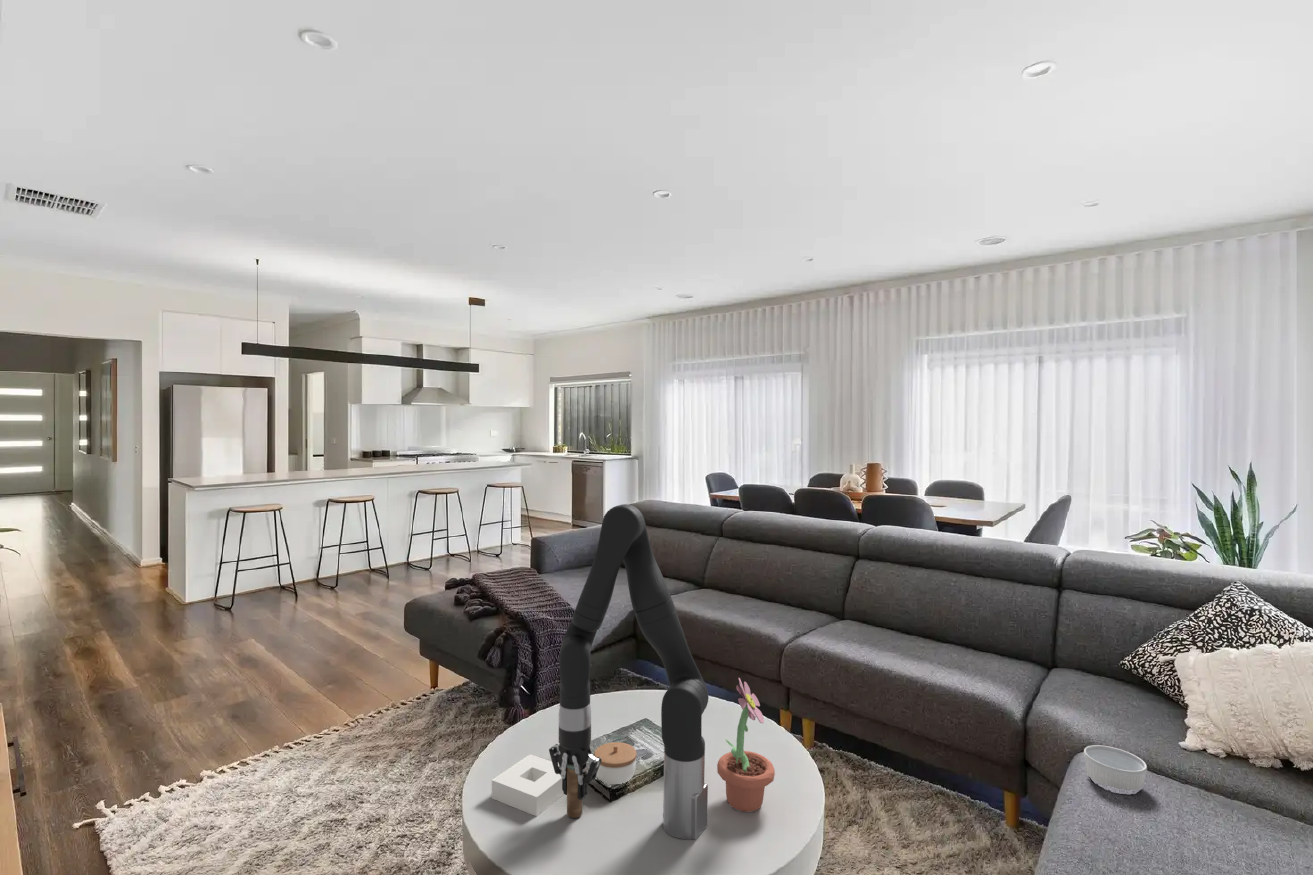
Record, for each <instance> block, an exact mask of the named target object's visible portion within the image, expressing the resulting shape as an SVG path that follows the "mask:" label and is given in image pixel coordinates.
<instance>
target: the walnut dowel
mask: <svg viewBox="0 0 1313 875" xmlns="http://www.w3.org/2000/svg"><path fill="white" fill-rule="evenodd" d="M582 767H583V766H582ZM582 767H581V768H582ZM581 768H580V769H581ZM578 784H579V782H578V776H577V775H576V773H575V767H574V765H573V764H570V763H567V795H566V815H567V816H568V818H572V819H575V818H579V817H581V816H582V815H583V799H582V800H579V799H578Z"/></svg>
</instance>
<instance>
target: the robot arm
mask: <svg viewBox="0 0 1313 875" xmlns="http://www.w3.org/2000/svg"><path fill="white" fill-rule="evenodd" d="M622 563H623V564H624V567H625V572H626V577H627V585H628V593H629V597H630V603H631V607H632V609H633V612H634V616H635V618H636V621H637V624H638V627H639V629H640V631H641V633H642V635H643V636H644V638H645V640H646V641H647V642H648V644H649V645H651V647H652V649H654V651H655V652H656V654H657V655H658V656H659V658H660V661H661V662H662V665H663V667H664V671H665V672H666V673H665V674H666V676H667V679H668V680H667V681H668V684H669V687H668V688H667V690H666V692H665V693H664V694H663V697H662V701H661V706H660V707H661V708H660V710H661V711H660V715H661V717H660V718H661V719H660V721H661V725H660V726H661V740H662V743H663V803H662V805H663V807H662V808H663V812H662V813H663V814H662V820H663V822H662V824H663V827H662V828H663V830H664V831H665V832H666V833H667V834H668V835H669V836H672V837H674V838H677V839H684V840H685V839H692V840H697V839H698V838H699V836H700V835H701V833H703V831H704V830H706V828H707V826H708V800H709V799H708V798H709V797H708V794H709V792H708V791H709V790H708V789H709V785H708V784H707V783H705V764H706V763H705V762H706V761H705V759H706V758H705V755H706V754H705V753H706V742H705V738H704V737H703V735H702V723H703V722H702V720H703V719H702V716H703V713H704V712H705V710H706V709H707V706H708V704H709V691H708V687H707V685H706V683H705V680H704V678H703V677H702V674H701V672H700V670H699V667H697V666H698V665H697V664H696V662H695V660H694V658H693V656H692V653H691V650H690V647H689V646H688V641H687V639H686V635H685V633H684V630H683V627H682V625H681V621H680V619H679V618H680V617H679V614H678V612H677V609H676V607H675V603H674V601H673V598H672V595H671V593H670V591H669V588H668V586H667V583H666V581H665V578H664V576H663V574H662V571H661V569H660V567H659V565H658V563H657V560H656V557H655V555H654V552H653V549H652V545H651V542H650V538H649V534H648V530H647V525H646V521H645V518H644V515H643V513H642V512H641V511H640V510H639V509H638V508H637V506H634V505H631V504H629V503H625V504H623V503H622V504H619V505H616V506H615V505H614V506H613V507H611V508H609V510H608V511H607V512H606V513H605V515H604V516H603V518H602V522H601V529H600V534H599V538H598V542H597V548H596V552H595V555H594V558H593V562H592V565H591V566H590V567H591V568H590V571H589V573H588V574H587V578H586V580H585V583H584V586H583V588H582V590H581V593H580V596H579V598H578V601H577V604H576V607H575V609H574V612H573V615H572V616H573V617H572V619H571V620H570V623H569V625H568V627H567V630H566V631H565V633H564V636H563V639H562V641H561V644H560V650H559V659H558V660H559V661H558V662H559V666H558V667H559V677H560V686H559V709H558V743H556V744H554V745H553V746H551V747H550V748H549V749H548V751H549V752H548V753H549V755H550V761H551V762H552V764H553V767H554V771H555V773H556V774H560V775H561V778H562V790H563V791H564V795H566V796H567V763H570V764H573V765H574V767H575V773H576V775H577V776H578V782H579V784H578V799H579V800H582V801H583V799H584V798H585V797H586V796H587V795H588V792H589V791H588V790H589V789H588V785H589V784H590V783H592V782H593V781H594V780H595V779H596V776H597V772H598V769H599V766H600V763H601V758H600V757H597V758H596V757H594V755H593V754H592V749H591V742H592V706H591V682H590V672H591V670H590V669H591V649H592V647H593V643H594V640H595V638H596V634H597V632H598V631H599V630H600V628H601V626H602V625H603V622H604V619H605V617H606V614H607V612H608V609H609V606H610V603H611V600H612V596H613V593H614V589H615V586H616V580H617V577H618V574H619V571H620V568H621V565H622ZM558 764H559V766H558ZM582 766H583V767H582ZM581 767H582V768H581ZM580 768H581V769H580Z"/></svg>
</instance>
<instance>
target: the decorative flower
mask: <svg viewBox="0 0 1313 875" xmlns="http://www.w3.org/2000/svg"><path fill="white" fill-rule="evenodd" d="M738 682H739V685H738V684H737V685H736V691H737V692H738V693H739V695H741V697H742V698H741V697H739V698H738V699H737V701H738V704H739V706H740V707H741V710H742V712H741V714H740V717H739V721H738V725H737V729H736V731H737V732H736V733H737V734H736V746H735V745H734V744H733V743H731V741H730V740H728V739H726V738H725V739H724V740H725V742H726V743H727V744H728V745H729V746H730V747H732V748H731V749H730V750H731V751H730V752H727V753H725V754H723V755H722V756H721V757H720V758H719V759H718V761H717V763H716V767H717V768H716V769H717V770H716V772H717V774H718V776H719V777H720V778H721V780H723V781H724V782H725V794H726V796H725V797H726V801H727V802H728V805H729V806H730V807H732V808H733V809H735V810H737V811H739V810H740V812H743V813H744V812H745V813H752V812H755V811H758V810H759V809H760V808H761V807H762V806H763V801H764V797H765V796H764V795H765V789H766V788H765V787H768V786H769V785H770V784H771V783H773V782H774V779H775V776H776V772H775V767H774V765H773V762H771V761H770V760H769V758H766V757H765V756H764V755H761V754H760V753H757V752H754V751H749V750H744V748H745V746H744V745H745V733H748V732H749V731H748V730H749V728H748V726H747V722H748V718H749V719H751V720H752V721H756V719H757V721H758V722H759V723H760V724H764V722H765V721H764V715H763V713H762V711H761V710H760V709H759V708H758V707H760V706H761V704H760V701H759V699H758V697H757V696H756V694H754V693H751V689H750V686H749V685H748V683H747V682H746V681H744V682H743V683H742V680H741V678H740V677H738ZM751 811H752V812H751Z"/></svg>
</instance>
